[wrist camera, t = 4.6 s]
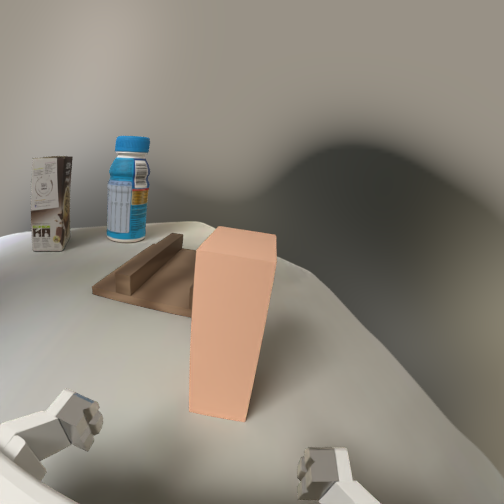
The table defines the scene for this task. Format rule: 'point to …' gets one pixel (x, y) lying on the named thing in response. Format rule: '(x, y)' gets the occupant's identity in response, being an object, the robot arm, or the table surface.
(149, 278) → the walnut rack
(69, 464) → the table surface
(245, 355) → the tall peach pillar
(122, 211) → the beverage bottle
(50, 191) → the coffee box
